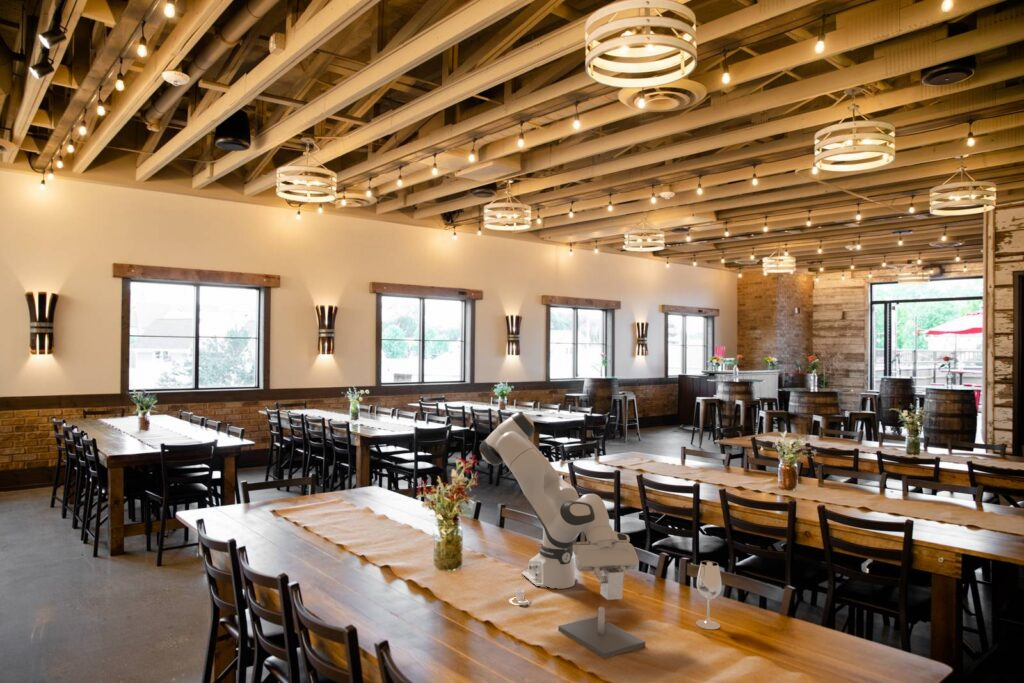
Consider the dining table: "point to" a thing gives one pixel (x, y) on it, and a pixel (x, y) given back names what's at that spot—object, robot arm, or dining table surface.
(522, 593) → the teacup and saucer
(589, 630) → the shaft plate
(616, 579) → the steel sleeve
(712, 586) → the wineglass
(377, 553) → the dining table surface
